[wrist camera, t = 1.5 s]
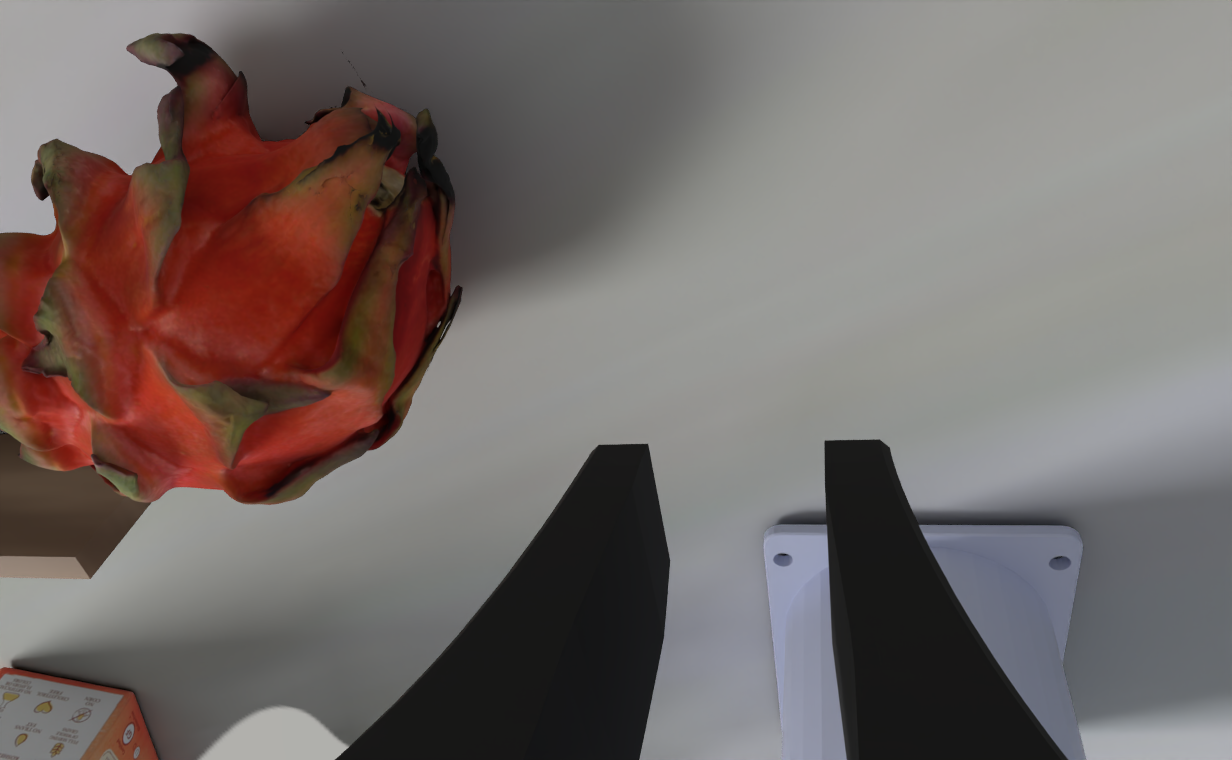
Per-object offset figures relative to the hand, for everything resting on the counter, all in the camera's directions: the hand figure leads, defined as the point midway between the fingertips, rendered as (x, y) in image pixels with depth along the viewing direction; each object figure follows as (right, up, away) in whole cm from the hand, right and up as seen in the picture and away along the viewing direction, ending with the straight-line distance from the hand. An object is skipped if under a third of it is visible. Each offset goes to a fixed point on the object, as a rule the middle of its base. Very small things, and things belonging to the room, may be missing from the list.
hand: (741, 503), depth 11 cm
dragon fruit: (-9, +6, +11) cm, 15 cm away
